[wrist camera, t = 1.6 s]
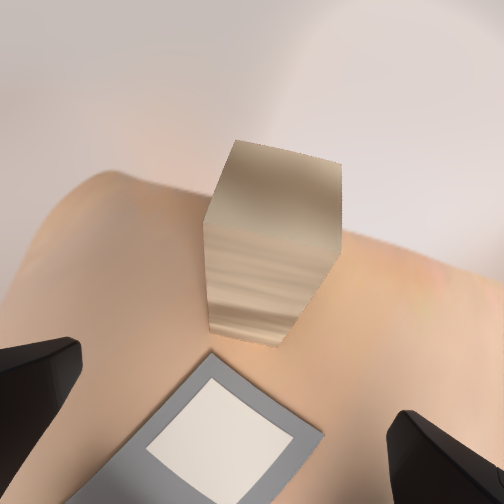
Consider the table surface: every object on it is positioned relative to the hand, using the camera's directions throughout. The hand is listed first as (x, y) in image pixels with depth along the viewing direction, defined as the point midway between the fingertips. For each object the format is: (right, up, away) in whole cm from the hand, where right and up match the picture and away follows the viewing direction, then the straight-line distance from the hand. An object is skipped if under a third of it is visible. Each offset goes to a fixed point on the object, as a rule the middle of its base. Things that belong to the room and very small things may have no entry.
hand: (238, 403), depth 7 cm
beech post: (0, -1, +16) cm, 16 cm away
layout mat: (-5, -13, +8) cm, 15 cm away
